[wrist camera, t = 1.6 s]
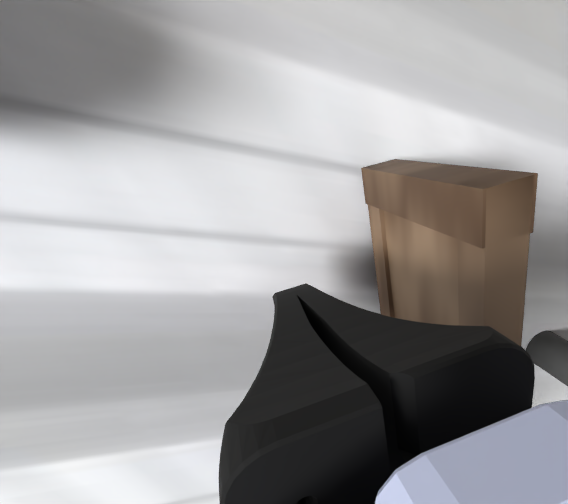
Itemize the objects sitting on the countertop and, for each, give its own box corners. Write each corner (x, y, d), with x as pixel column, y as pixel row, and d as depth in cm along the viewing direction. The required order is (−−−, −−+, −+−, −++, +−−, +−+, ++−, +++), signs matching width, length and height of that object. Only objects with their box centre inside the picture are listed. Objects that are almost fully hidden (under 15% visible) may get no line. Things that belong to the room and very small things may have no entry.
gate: (414, 401, 20) (509, 519, 13) (390, 410, 19) (476, 534, 13) (394, 159, 14) (537, 173, 8) (361, 167, 14) (483, 189, 8)
